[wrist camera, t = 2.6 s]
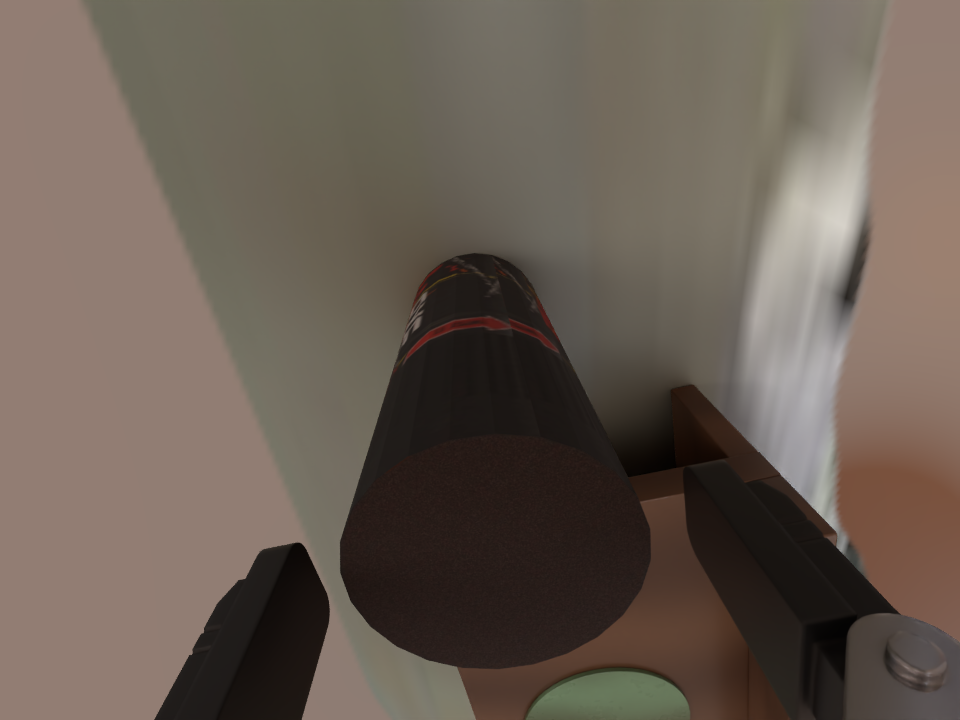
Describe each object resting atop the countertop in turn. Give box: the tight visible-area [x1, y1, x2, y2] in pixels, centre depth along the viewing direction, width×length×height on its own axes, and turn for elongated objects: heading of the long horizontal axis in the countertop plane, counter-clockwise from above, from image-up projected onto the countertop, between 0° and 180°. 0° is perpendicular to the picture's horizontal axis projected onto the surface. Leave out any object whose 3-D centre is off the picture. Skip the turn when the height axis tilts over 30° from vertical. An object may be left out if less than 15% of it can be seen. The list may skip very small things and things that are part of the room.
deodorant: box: [340, 253, 651, 669], centre depth 16 cm, size 6×6×15 cm
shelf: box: [458, 385, 837, 720], centre depth 25 cm, size 20×14×10 cm
